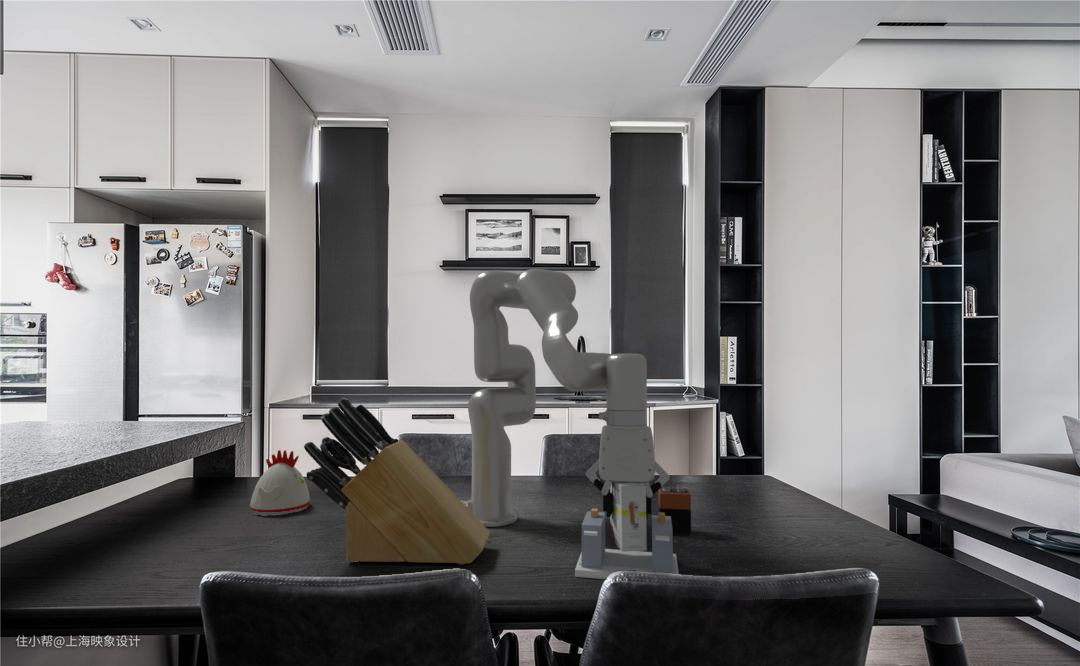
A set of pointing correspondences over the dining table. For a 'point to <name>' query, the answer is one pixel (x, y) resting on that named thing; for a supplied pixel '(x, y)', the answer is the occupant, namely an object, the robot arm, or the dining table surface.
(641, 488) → the ink box
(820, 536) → the dining table surface
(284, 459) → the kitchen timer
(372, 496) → the knife block
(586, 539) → the board
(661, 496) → the battery
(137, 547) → the dining table surface
